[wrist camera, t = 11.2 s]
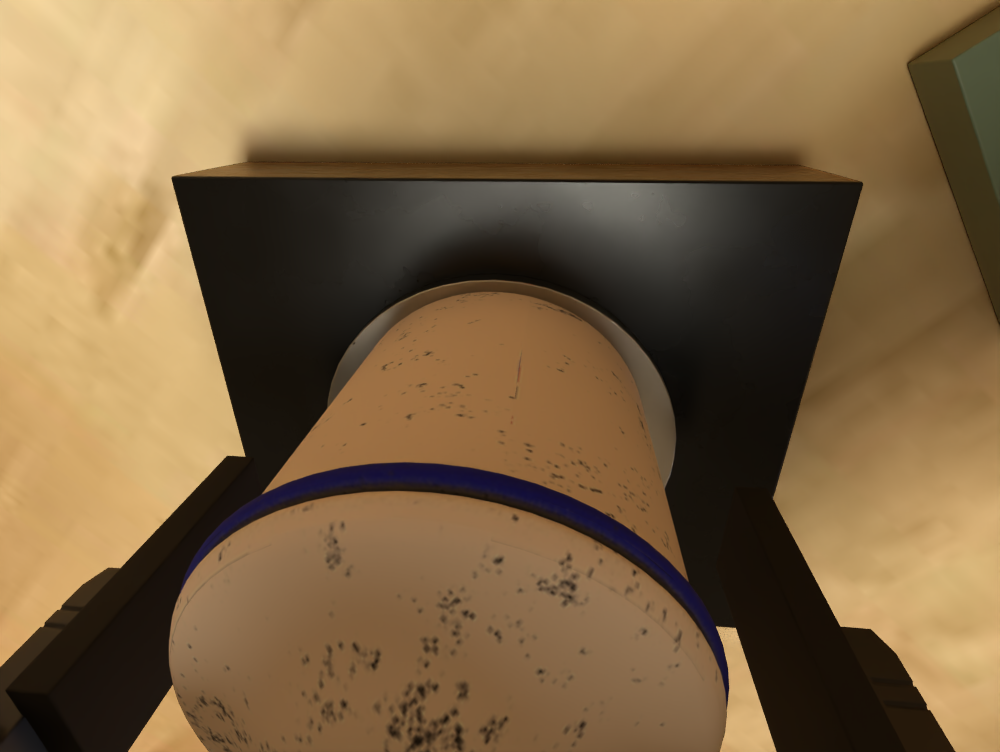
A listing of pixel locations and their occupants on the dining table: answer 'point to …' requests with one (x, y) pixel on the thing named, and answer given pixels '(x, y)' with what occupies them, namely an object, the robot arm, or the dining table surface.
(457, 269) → the cup warmer
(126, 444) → the dining table surface
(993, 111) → the box
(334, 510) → the teacup with lid
